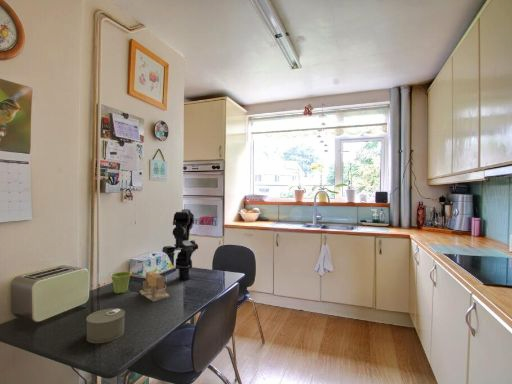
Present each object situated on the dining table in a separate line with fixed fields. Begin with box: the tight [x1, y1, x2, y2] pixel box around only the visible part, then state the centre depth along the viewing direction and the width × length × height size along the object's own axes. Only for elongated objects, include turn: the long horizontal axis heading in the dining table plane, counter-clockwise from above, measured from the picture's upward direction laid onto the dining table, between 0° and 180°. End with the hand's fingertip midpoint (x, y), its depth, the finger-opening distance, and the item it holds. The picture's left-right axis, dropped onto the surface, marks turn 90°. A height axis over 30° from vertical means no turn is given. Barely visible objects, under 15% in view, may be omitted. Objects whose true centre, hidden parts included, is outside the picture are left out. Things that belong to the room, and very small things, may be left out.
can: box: [85, 307, 126, 344], centre depth 96 cm, size 12×12×7 cm
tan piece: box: [139, 280, 170, 302], centre depth 133 cm, size 15×8×6 cm, turn 46°
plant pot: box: [110, 271, 132, 294], centre depth 137 cm, size 9×9×9 cm
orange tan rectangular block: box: [145, 270, 165, 290], centre depth 133 cm, size 13×3×6 cm, turn 46°
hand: (180, 263), depth 147 cm, fingers open, 9 cm apart
